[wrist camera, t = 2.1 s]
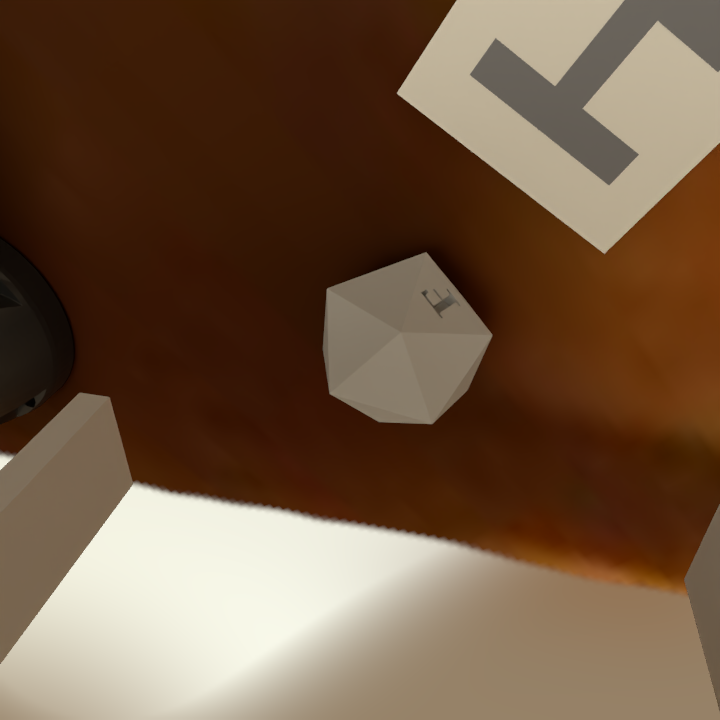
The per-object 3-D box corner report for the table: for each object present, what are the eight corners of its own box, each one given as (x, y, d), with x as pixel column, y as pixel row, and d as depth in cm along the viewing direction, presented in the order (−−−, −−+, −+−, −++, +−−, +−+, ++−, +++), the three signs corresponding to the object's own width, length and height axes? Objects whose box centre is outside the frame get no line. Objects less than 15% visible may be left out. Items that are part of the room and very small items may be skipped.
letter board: (602, 249, 31) (604, 253, 31) (398, 90, 29) (396, 93, 29) (852, 6, 24) (860, 7, 23) (602, -224, 22) (604, -229, 22)
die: (503, 359, 37) (540, 345, 27) (385, 450, 37) (380, 469, 27) (416, 251, 38) (421, 198, 28) (301, 340, 38) (265, 319, 28)
